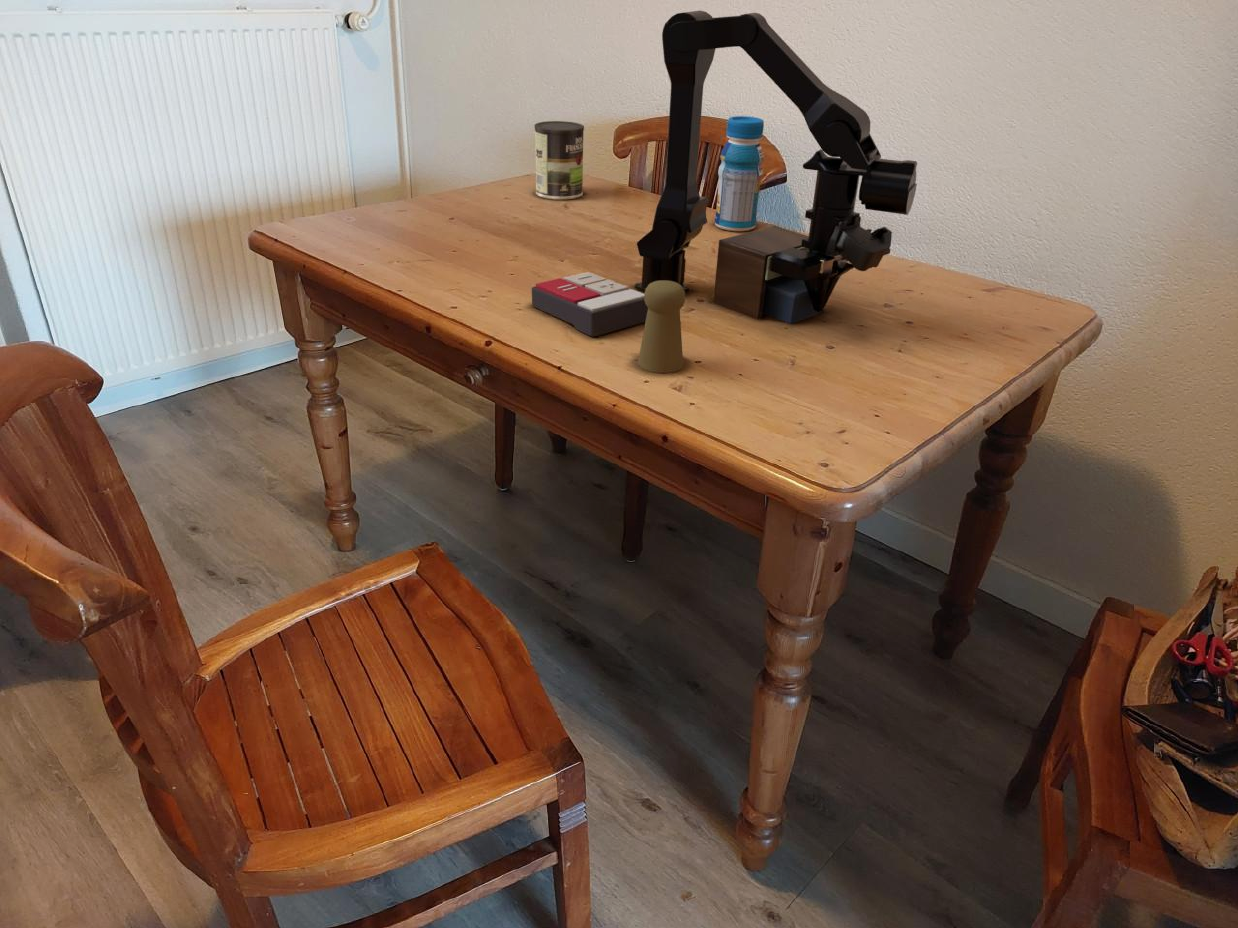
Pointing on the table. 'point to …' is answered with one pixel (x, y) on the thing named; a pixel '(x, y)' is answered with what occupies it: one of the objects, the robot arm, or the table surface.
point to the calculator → (591, 303)
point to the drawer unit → (749, 267)
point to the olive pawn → (662, 328)
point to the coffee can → (559, 159)
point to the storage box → (787, 299)
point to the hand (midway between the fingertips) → (818, 311)
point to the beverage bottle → (740, 175)
